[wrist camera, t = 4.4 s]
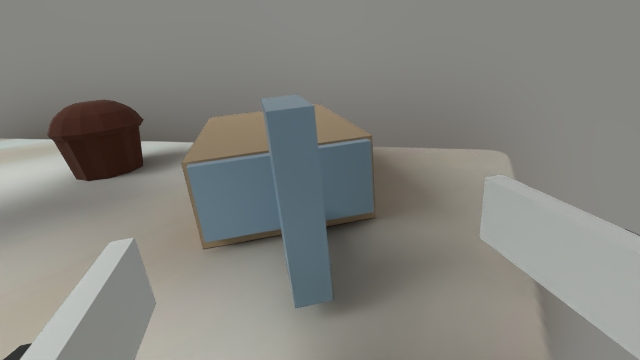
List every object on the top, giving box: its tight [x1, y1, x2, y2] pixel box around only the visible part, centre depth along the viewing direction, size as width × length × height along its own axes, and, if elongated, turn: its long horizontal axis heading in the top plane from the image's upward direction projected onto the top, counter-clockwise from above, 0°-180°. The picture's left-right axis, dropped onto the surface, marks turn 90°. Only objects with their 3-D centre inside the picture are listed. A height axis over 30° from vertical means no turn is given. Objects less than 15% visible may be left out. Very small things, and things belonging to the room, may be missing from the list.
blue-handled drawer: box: [187, 95, 374, 308], centre depth 29 cm, size 29×13×10 cm, turn 12°
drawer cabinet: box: [181, 104, 375, 249], centre depth 35 cm, size 20×14×7 cm
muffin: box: [48, 100, 143, 181], centre depth 48 cm, size 12×11×10 cm
